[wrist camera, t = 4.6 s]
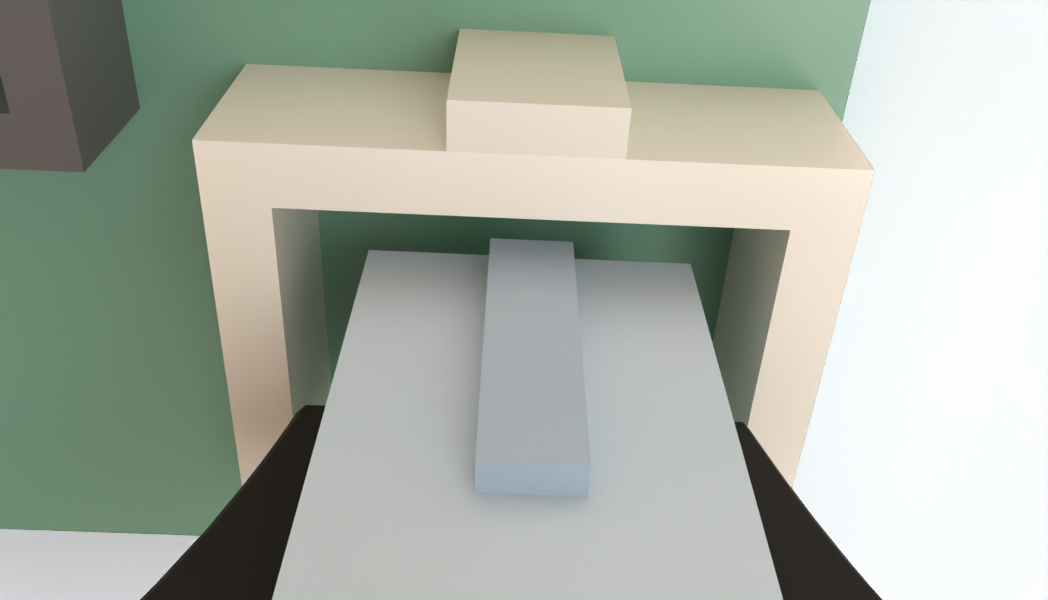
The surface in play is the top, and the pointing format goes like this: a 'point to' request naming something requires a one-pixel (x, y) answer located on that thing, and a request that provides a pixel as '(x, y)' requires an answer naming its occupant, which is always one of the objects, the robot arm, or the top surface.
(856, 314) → the top surface
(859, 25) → the board
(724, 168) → the frame
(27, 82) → the block
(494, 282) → the plug
